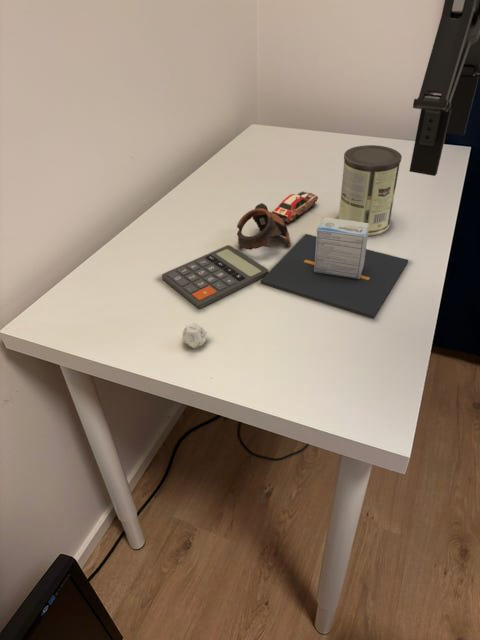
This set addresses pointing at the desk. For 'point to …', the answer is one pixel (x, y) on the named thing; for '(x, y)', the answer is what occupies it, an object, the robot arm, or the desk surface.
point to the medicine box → (341, 247)
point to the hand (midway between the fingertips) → (438, 151)
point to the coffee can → (369, 186)
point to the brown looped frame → (262, 228)
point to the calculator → (214, 275)
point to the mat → (336, 279)
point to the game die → (194, 335)
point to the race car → (295, 206)
